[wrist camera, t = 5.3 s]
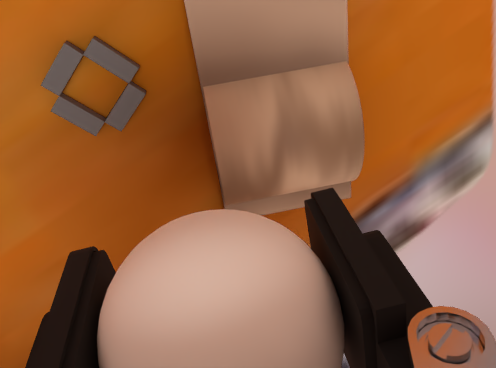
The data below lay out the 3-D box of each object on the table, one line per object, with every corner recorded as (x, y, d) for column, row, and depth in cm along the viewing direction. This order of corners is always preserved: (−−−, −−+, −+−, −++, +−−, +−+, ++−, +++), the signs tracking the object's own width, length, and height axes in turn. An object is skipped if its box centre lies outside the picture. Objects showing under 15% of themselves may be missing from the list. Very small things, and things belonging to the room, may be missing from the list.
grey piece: (155, 76, 24) (155, 79, 23) (113, 141, 25) (112, 145, 25) (76, 23, 22) (73, 25, 21) (35, 97, 23) (32, 100, 23)
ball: (295, 318, 13) (356, 508, 9) (121, 329, 12) (91, 544, 8) (320, 167, 10) (422, 327, 6) (104, 168, 10) (48, 352, 5)
